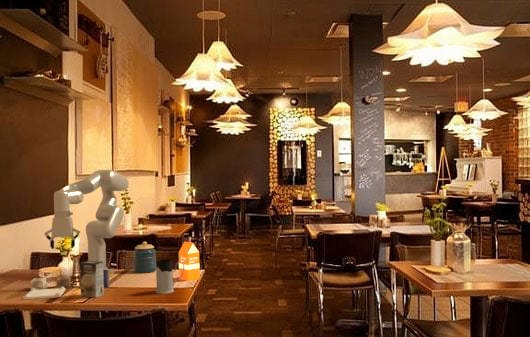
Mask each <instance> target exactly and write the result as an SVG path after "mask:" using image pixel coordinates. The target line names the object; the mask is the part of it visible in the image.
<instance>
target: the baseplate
mask: <svg viewBox="0 0 530 337" xmlns="http://www.w3.org/2000/svg"><path fill="white" fill-rule="evenodd" d="M65 291H66V289H65V288H64V287H61V288H58V289H57V288H45V289H41V290H35V289H32V290H31V289H30V291H29V292H28V293H26V294H25V295H24V296H23V298H22V299H23V300H37V299H53V298H56V299H57V298H60V297H61V296H62V295H63V294H64V293H65Z"/></svg>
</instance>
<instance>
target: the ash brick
mask: <svg viewBox="0 0 530 337" xmlns="http://www.w3.org/2000/svg"><path fill="white" fill-rule="evenodd" d="M46 278H47V277H37V278H36V277H34V278H33V279H32V280H31V281H30V291H31V290H32V289H35V290H41V289H47V287H46Z"/></svg>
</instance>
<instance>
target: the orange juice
mask: <svg viewBox="0 0 530 337" xmlns="http://www.w3.org/2000/svg"><path fill="white" fill-rule="evenodd" d="M178 262H182V263H178V276H179V277H178V279H179V278H180V276H181V275H182V272H183V264H184V272H183V275H182V277H181V278H180V279H179V280H182V281H187V282H190V281H197V280H201V279H200V278H201V276H200V274H201V273H200V272H201V271H200V268H201V267H200V251H199V249H198V248H197V247H196V245H195V243H194V242H190V241H184V242H183V244H182V246H181V247H180V249H179V251H178Z"/></svg>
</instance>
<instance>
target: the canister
mask: <svg viewBox="0 0 530 337" xmlns="http://www.w3.org/2000/svg"><path fill="white" fill-rule="evenodd" d="M154 248H155V246H154V245H152V244H148V242H147V241H143V242H142V243H141V244H138V245H136V246H135V247H134V251H133V271H134V273H136V274H149V273H155V272H156V266H157V262H156V261H157V260H156V259H157V255H156V252H157V250H156V249H154Z"/></svg>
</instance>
